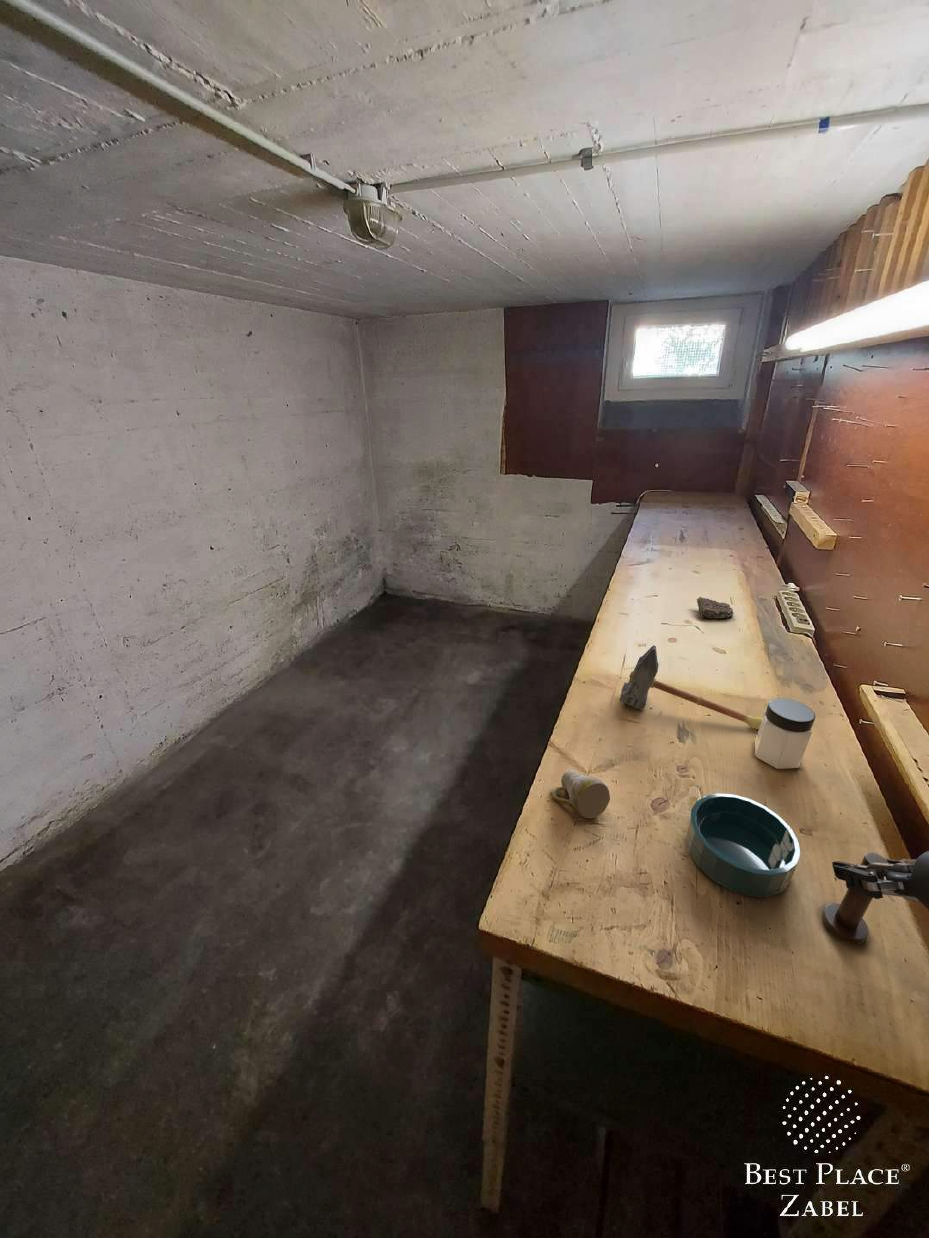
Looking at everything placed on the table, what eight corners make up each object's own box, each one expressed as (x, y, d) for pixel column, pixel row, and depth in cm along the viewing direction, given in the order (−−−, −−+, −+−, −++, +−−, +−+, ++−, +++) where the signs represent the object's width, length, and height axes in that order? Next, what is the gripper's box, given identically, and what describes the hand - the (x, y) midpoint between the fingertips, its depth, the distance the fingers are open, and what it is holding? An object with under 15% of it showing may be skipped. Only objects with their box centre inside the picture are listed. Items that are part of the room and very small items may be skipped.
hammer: (783, 701, 102) (642, 649, 110) (747, 753, 110) (618, 701, 118) (779, 686, 107) (644, 638, 114) (745, 737, 115) (621, 689, 123)
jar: (808, 760, 100) (826, 713, 95) (787, 776, 96) (805, 728, 91) (765, 736, 107) (779, 691, 102) (744, 750, 103) (757, 704, 98)
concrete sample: (694, 618, 160) (697, 604, 158) (694, 606, 168) (697, 593, 166) (733, 623, 156) (737, 609, 154) (731, 611, 164) (734, 597, 162)
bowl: (723, 805, 90) (730, 781, 87) (810, 871, 78) (821, 845, 75) (664, 840, 84) (670, 815, 81) (749, 918, 71) (759, 892, 69)
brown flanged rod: (833, 901, 73) (865, 838, 67) (873, 932, 69) (910, 867, 63) (814, 918, 71) (844, 854, 65) (853, 951, 67) (890, 885, 61)
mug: (577, 775, 98) (603, 755, 91) (593, 825, 92) (622, 807, 85) (545, 777, 95) (570, 756, 88) (559, 828, 90) (586, 810, 82)
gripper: (1031, 848, 53) (894, 833, 69) (908, 861, 52) (799, 842, 68) (1063, 927, 50) (914, 892, 66) (936, 941, 50) (815, 903, 66)
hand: (856, 867), depth 67 cm, fingers open, 5 cm apart
